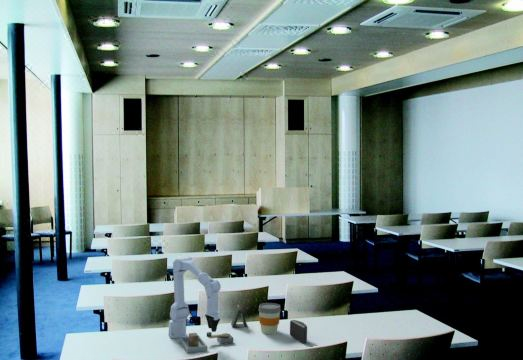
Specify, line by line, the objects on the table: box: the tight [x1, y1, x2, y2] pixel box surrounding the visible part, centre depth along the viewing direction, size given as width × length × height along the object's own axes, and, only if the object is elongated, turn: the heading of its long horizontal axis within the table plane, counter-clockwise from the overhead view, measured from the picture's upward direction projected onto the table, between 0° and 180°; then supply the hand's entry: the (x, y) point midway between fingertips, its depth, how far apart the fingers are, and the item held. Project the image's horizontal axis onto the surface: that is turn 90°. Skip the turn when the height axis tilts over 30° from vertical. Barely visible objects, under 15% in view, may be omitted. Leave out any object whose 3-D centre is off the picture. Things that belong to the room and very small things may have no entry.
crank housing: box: [216, 333, 234, 346], centre depth 325 cm, size 7×14×3 cm, turn 20°
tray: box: [179, 335, 208, 354], centre depth 313 cm, size 11×17×2 cm, turn 20°
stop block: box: [188, 332, 199, 347], centre depth 313 cm, size 4×5×6 cm
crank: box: [206, 331, 230, 339], centre depth 320 cm, size 12×4×3 cm, turn 110°
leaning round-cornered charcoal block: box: [289, 319, 308, 345], centre depth 327 cm, size 16×5×9 cm, turn 27°
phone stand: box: [230, 304, 249, 329], centre depth 349 cm, size 9×6×12 cm, turn 99°
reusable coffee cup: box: [258, 302, 282, 335], centre depth 339 cm, size 13×13×15 cm
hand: (212, 329), depth 312 cm, fingers open, 6 cm apart
